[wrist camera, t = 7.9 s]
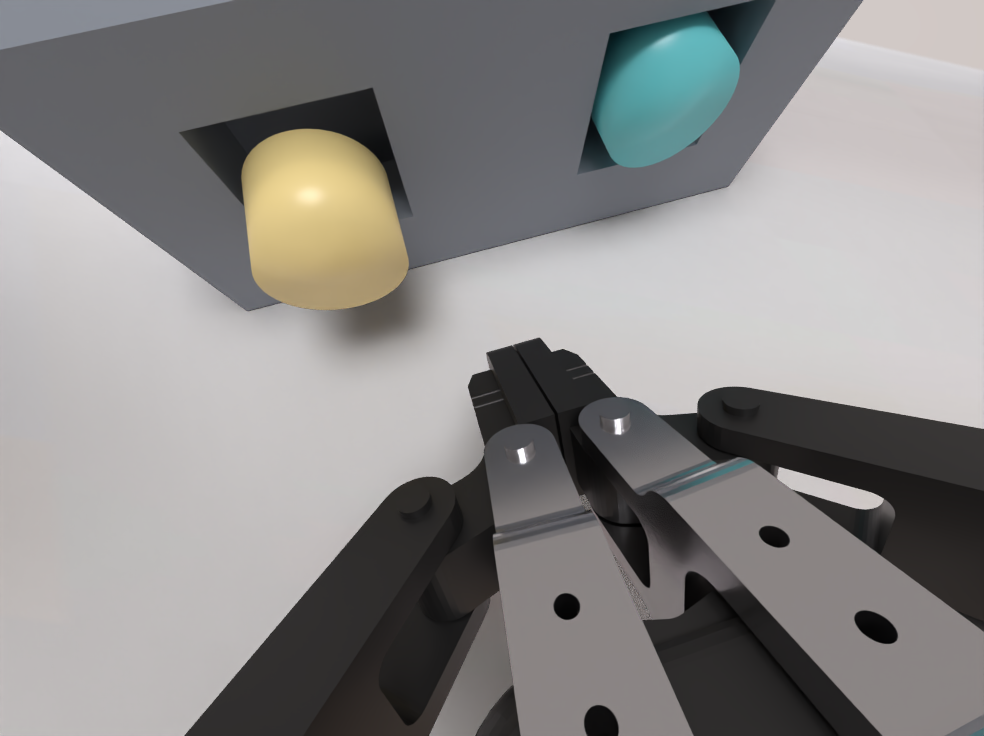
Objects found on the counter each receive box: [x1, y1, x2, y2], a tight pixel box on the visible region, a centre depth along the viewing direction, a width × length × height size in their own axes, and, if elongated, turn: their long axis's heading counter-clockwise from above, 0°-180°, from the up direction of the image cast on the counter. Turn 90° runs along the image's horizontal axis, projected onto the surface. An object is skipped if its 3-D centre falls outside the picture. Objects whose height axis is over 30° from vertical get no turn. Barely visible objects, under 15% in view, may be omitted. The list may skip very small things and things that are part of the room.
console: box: [0, 0, 863, 311], centre depth 15 cm, size 8×24×11 cm, turn 106°
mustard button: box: [241, 129, 409, 310], centre depth 13 cm, size 3×4×4 cm
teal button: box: [591, 11, 740, 168], centre depth 14 cm, size 3×4×4 cm
